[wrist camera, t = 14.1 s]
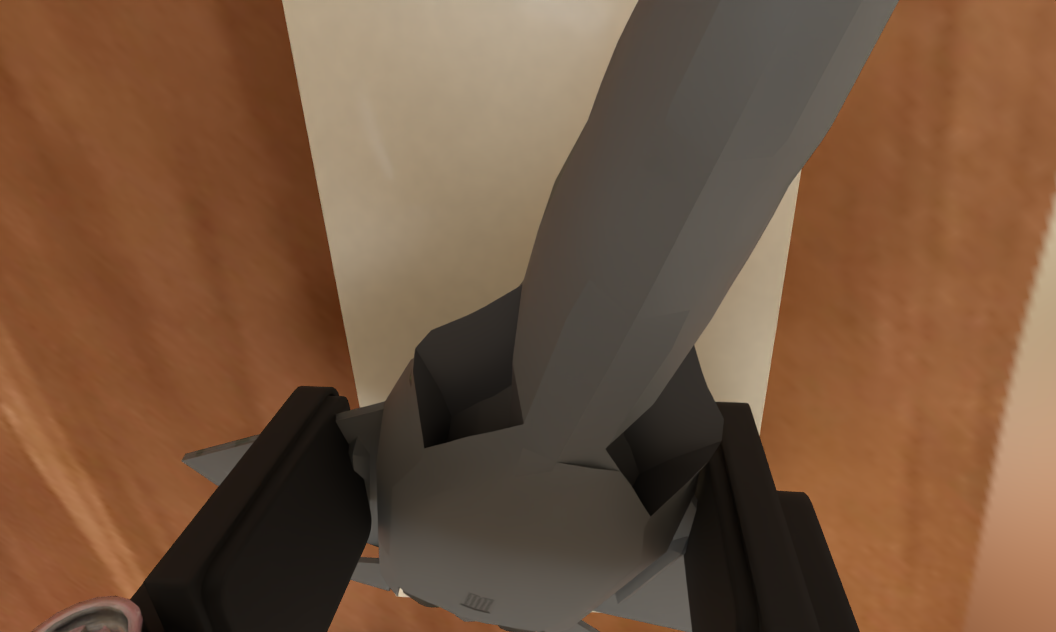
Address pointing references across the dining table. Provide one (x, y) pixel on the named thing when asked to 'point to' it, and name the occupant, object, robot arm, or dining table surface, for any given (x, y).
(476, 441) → the fighter jet
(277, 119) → the dining table surface
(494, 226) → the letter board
